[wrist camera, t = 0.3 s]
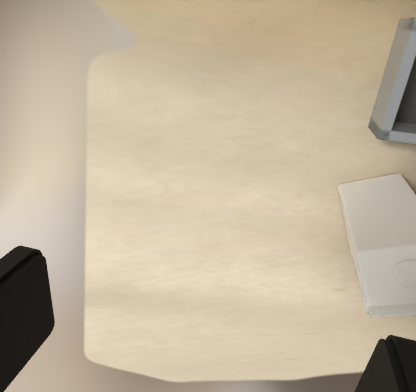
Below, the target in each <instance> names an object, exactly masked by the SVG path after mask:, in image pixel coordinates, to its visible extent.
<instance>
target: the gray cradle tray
mask: <svg viewBox="0 0 416 392" xmlns="http://www.w3.org/2000/svg"><path fill="white" fill-rule="evenodd" d="M368 127H369V128H370V130H371V131H372V132H373V134H374V135H375V136H376V138H377V139H381V140H389V141H396V142H404V143H411V144H416V18H407V19H400V21H399V24H398V28H397V31H396V34H395V38H394V41H393V45H392V48H391V51H390V55H389V58H388V62H387V65H386V68H385V72H384V75H383V79H382V82H381V85H380V89H379V92H378V96H377V99H376V102H375V106H374V109H373V113H372V116H371V119H370V123H369V126H368Z"/></svg>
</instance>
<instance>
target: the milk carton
mask: <svg viewBox="0 0 416 392" xmlns="http://www.w3.org/2000/svg"><path fill="white" fill-rule="evenodd" d="M338 190H339V195H340V201H341V206H342V212H343V217H344V223H345V228H346V233H347V237H348V241H349V245H350V249H351V253H352V257H353V261H354V265H355V269H356V273H357V277H358V281H359V285H360V289H361V293H362V297H363V301H364V305H365V309H366V313H367V314H369V315H370V317H371V318H376V317H393V316H409V315H416V194H415V193H414V191H413V190H412V189H411V187H410V186H409V185H408V183H407V182H406V181H405V179H404V178H403V176H402V175H401V174H392V175H387V176H381V177H376V178H371V179H365V180H360V181H354V182H349V183H343V184H339V185H338Z"/></svg>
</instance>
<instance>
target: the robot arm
mask: <svg viewBox="0 0 416 392" xmlns="http://www.w3.org/2000/svg"><path fill="white" fill-rule="evenodd" d="M53 327H54V314H53V307H52V300H51V293H50V285H49V278H48V271H47V264H46V259H45V257H44V256H42V253H41V251H40V250H37V249H32V248H29V247H24V246H18V247H16V248H14V249H13V250H11V251H10V252H9V253H8V254H6V255H5V256H4V257H3V258H1V259H0V392H4V390H5V389H6V388H7V387H8V386H9V384H10V383H11V382H12V381H13V379H14V378H15V377H16V376H17V375H18V373H19V372H20V371H21V370H22V368H23V367H24V366H25V365H26V363H27V362H28V361H29V360H30V358H31V357H32V356H33V355H34V354H35V352H36V351H37V350H38V349H39V347H40V346H41V345H42V344H43V342H44V341H45V340H46V339H47V338H48V336H49V335H50V334H51V332H52V330H53ZM355 392H416V341H414V340H410V339H406V338H402V337H397V336H393V335H389V336H388V337H387V338H386V340H384V339H380V340H379V341H378V343H377V345H376V347H375V350H374V352H373V354H372V356H371V358H370V360H369V362H368V364H367V366H366V369H365V371H364V373H363V375H362V377H361V379H360V381H359V384H358V386H357V388H356V390H355Z"/></svg>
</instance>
